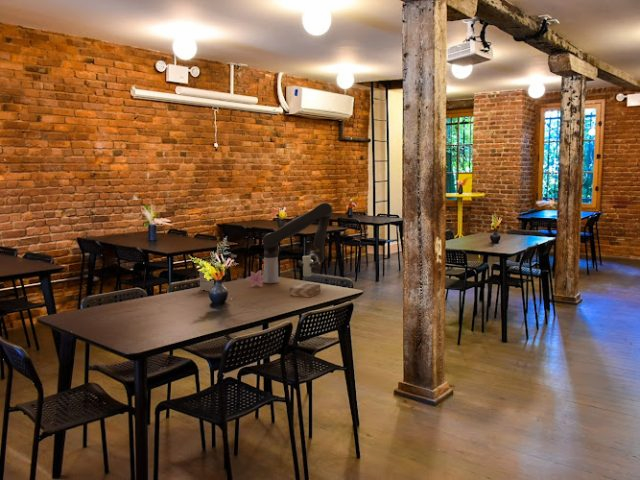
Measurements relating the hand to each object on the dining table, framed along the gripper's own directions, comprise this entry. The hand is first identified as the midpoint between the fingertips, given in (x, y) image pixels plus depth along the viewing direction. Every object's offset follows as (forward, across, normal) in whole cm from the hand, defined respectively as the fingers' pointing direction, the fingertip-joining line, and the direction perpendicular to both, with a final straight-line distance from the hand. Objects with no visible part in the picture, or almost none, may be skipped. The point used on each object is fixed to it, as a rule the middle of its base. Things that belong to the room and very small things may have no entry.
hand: (306, 265), depth 356 cm
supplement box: (-7, -65, +18) cm, 67 cm away
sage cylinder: (-3, 0, +7) cm, 7 cm away
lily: (-22, -38, +18) cm, 48 cm away
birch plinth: (-1, -1, +18) cm, 18 cm away
